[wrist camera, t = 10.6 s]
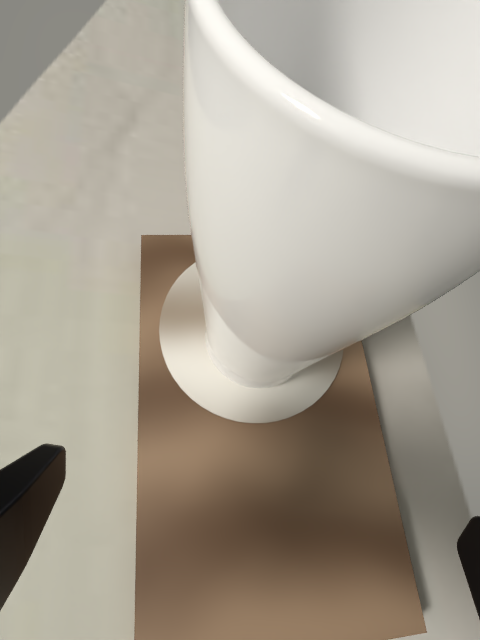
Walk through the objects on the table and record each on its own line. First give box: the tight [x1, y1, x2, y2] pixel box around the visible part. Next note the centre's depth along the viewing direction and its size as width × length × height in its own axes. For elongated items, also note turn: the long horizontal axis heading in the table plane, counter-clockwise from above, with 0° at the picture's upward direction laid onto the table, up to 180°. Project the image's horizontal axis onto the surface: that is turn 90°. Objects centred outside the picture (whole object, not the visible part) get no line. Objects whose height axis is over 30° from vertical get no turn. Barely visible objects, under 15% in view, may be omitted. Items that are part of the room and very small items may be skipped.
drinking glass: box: [183, 0, 480, 388], centre depth 12 cm, size 7×7×15 cm
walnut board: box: [134, 235, 427, 640], centre depth 18 cm, size 20×12×1 cm, turn 5°
